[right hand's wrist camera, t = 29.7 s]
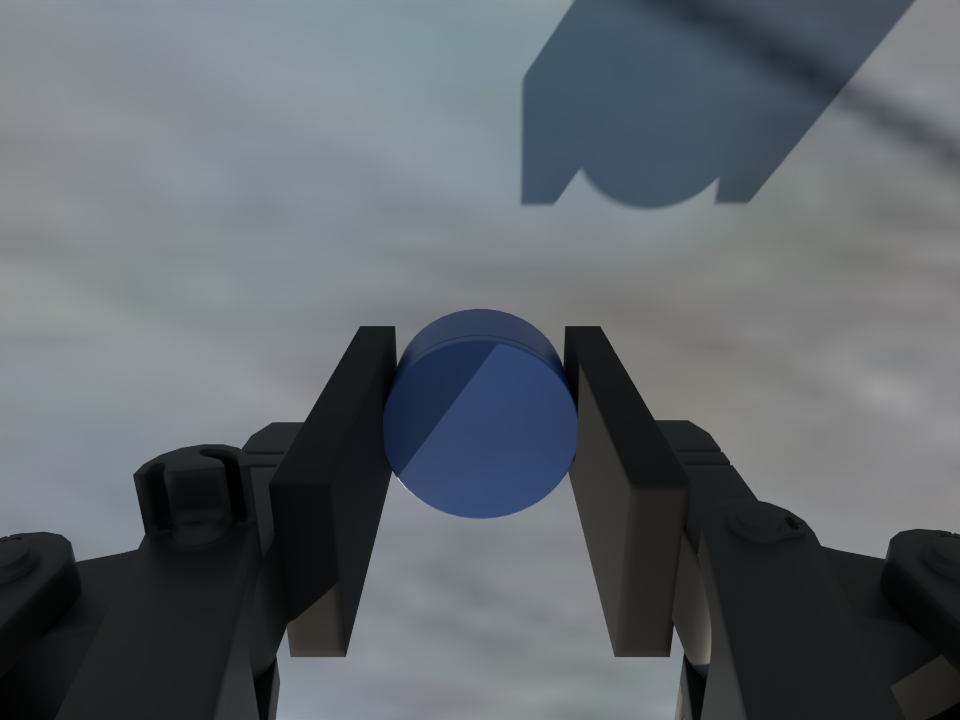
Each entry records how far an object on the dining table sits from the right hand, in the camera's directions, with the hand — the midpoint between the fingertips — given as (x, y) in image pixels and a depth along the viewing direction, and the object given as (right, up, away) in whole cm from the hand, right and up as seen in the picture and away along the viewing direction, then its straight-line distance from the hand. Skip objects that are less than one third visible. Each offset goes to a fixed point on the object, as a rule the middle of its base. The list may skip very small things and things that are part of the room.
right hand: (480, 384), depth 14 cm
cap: (0, -1, -2) cm, 2 cm away
